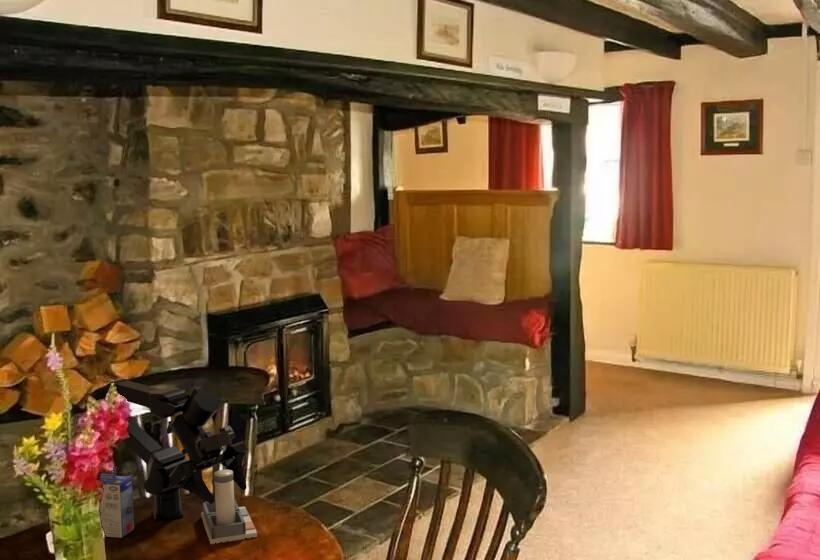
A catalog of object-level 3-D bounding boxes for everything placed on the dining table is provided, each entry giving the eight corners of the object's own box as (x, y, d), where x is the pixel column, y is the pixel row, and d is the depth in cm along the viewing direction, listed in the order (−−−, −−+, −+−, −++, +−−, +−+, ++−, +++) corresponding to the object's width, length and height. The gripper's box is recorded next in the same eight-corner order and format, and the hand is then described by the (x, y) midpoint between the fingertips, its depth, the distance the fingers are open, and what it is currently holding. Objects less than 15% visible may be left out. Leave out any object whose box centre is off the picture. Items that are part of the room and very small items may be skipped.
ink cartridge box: (136, 528, 191) (132, 466, 189) (123, 539, 186) (119, 474, 184) (96, 525, 193) (92, 463, 191) (82, 535, 188) (78, 472, 186)
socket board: (201, 516, 197) (200, 502, 196) (245, 510, 200) (244, 496, 200) (210, 544, 183) (209, 528, 182) (257, 536, 186) (256, 521, 186)
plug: (219, 525, 189) (216, 469, 188) (237, 525, 189) (235, 469, 188) (214, 533, 185) (211, 476, 184) (233, 533, 185) (230, 476, 183)
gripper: (175, 428, 179) (213, 489, 174) (241, 407, 194) (278, 463, 189) (152, 457, 184) (189, 517, 179) (218, 434, 199) (254, 490, 195)
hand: (229, 496), depth 185 cm, fingers open, 9 cm apart
